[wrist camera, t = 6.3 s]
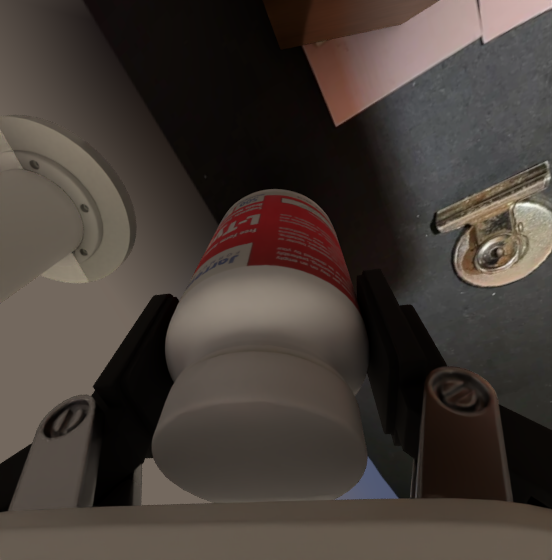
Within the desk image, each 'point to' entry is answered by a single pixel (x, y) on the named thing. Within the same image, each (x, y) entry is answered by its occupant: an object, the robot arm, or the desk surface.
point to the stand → (336, 18)
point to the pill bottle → (266, 361)
